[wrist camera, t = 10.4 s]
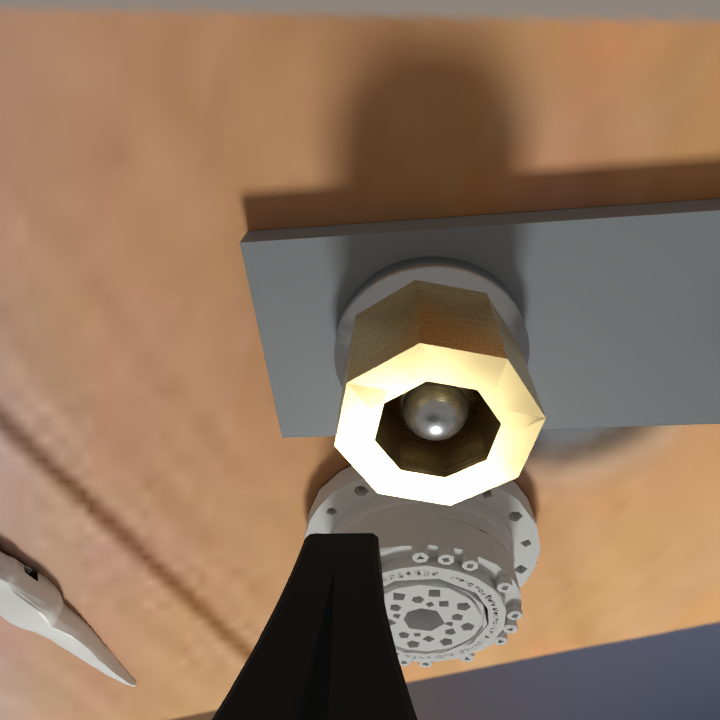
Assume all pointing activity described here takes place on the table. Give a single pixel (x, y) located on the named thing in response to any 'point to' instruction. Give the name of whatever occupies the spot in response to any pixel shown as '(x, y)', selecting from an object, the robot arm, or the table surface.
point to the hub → (428, 400)
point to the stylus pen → (52, 617)
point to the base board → (519, 306)
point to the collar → (440, 365)
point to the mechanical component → (440, 562)
